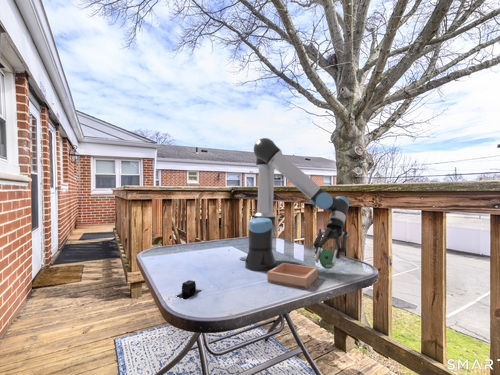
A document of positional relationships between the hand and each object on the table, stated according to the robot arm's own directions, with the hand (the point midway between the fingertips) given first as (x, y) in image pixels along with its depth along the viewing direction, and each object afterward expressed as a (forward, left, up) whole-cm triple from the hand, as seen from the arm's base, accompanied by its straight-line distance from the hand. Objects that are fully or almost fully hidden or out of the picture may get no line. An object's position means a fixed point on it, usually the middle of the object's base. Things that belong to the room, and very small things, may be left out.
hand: (324, 262), depth 110 cm
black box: (-37, -46, -6) cm, 59 cm away
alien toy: (0, +4, -4) cm, 5 cm away
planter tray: (-10, -13, -6) cm, 17 cm away
